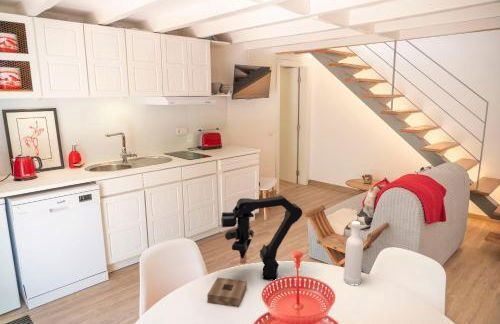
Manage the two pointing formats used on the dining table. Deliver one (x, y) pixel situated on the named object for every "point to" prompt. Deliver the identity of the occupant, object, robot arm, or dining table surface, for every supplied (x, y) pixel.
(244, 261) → the peg
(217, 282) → the hole block
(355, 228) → the bottle
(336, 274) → the dining table surface
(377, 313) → the dining table surface
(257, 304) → the dining table surface
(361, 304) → the dining table surface
